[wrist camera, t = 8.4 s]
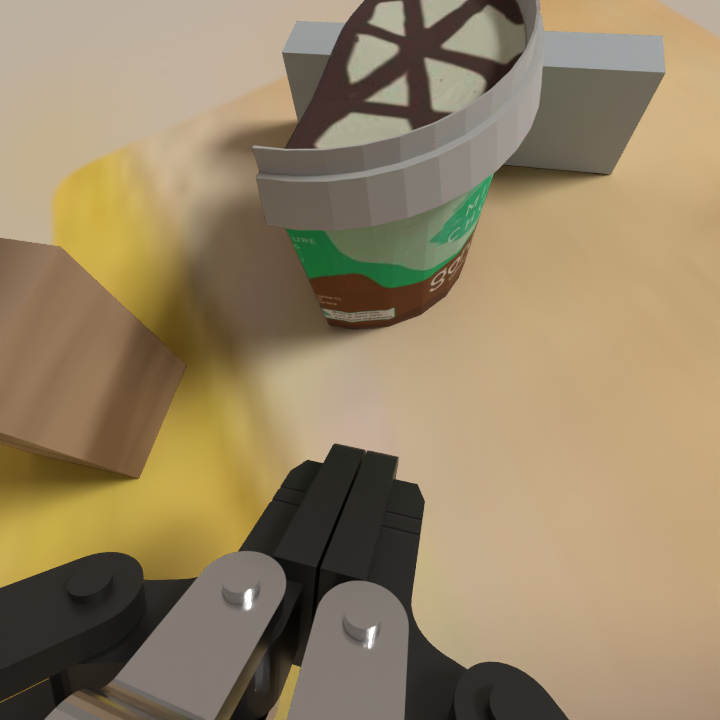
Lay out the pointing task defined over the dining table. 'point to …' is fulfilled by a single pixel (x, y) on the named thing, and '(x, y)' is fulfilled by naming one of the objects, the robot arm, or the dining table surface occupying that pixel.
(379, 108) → the food container
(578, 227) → the dining table surface
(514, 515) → the dining table surface
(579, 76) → the rail
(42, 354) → the walnut block
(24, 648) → the robot arm
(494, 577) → the dining table surface
